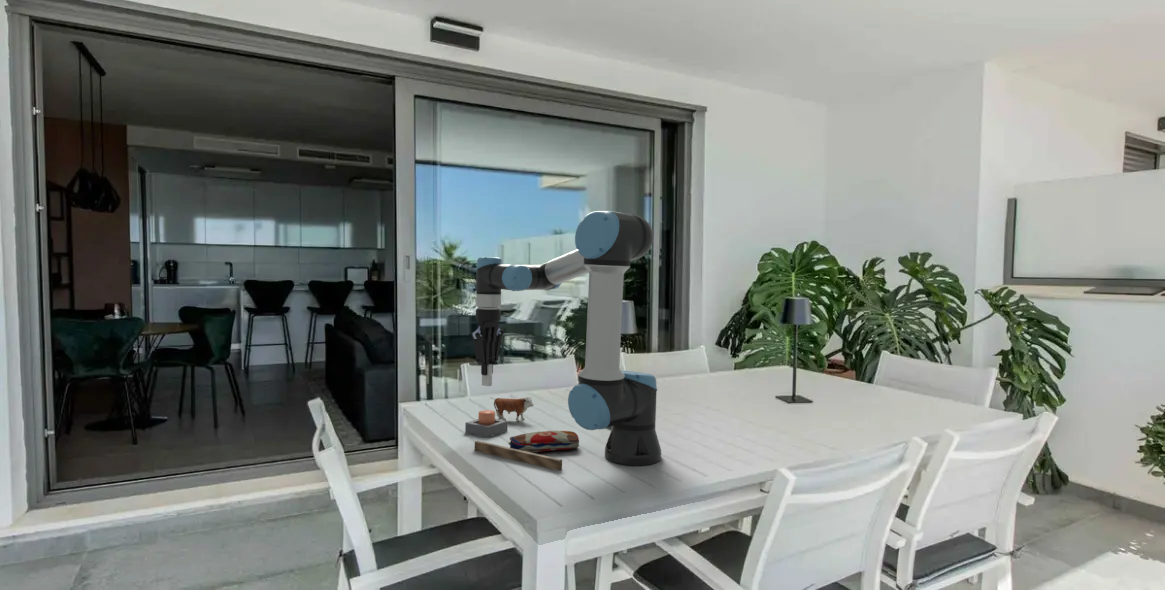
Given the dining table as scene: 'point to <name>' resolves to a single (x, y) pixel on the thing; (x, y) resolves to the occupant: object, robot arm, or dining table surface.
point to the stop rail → (519, 455)
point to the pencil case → (545, 441)
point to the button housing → (486, 428)
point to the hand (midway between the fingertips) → (486, 385)
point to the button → (486, 417)
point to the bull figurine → (512, 406)
